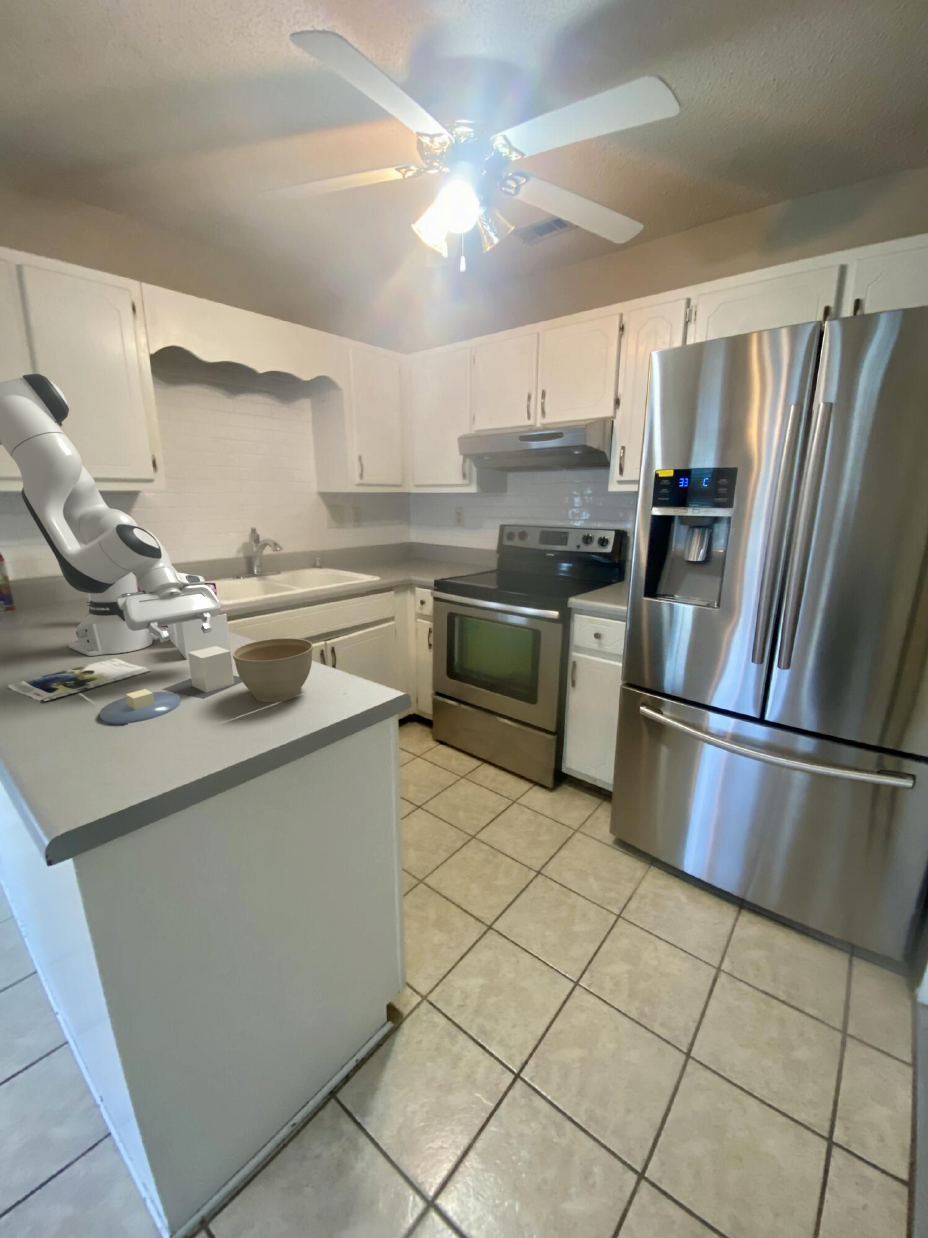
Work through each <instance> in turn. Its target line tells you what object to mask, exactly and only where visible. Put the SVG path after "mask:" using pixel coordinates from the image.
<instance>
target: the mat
mask: <svg viewBox="0 0 928 1238" xmlns="http://www.w3.org/2000/svg"><path fill="white" fill-rule="evenodd" d="M233 677H234V684H233V685H230V686H227V687H223V688H220V689H217V690H214V691H210V692H207V693H206V692H204V691H202V690H200V689H198V688H196V687H193V686H192V679H191V678H189V679H186V680H183V681H181V682H177V683H175V684H172V685H169V686H167V687H164V688H161V690H162V691H165V692H170V693H174V694H179V695H180V694H181V695H185V696H190V697H194V698H199V699H203V700H204V699H206V698H209V697H211V696H214V695H215V694H218V693H221V692H223V691H224V690H228V689H230V688H233V687H234V686H237V685H239V684H241V683H243V682H242V680H241V678H240V677H239V675H238V676H237V675H233Z"/></svg>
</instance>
